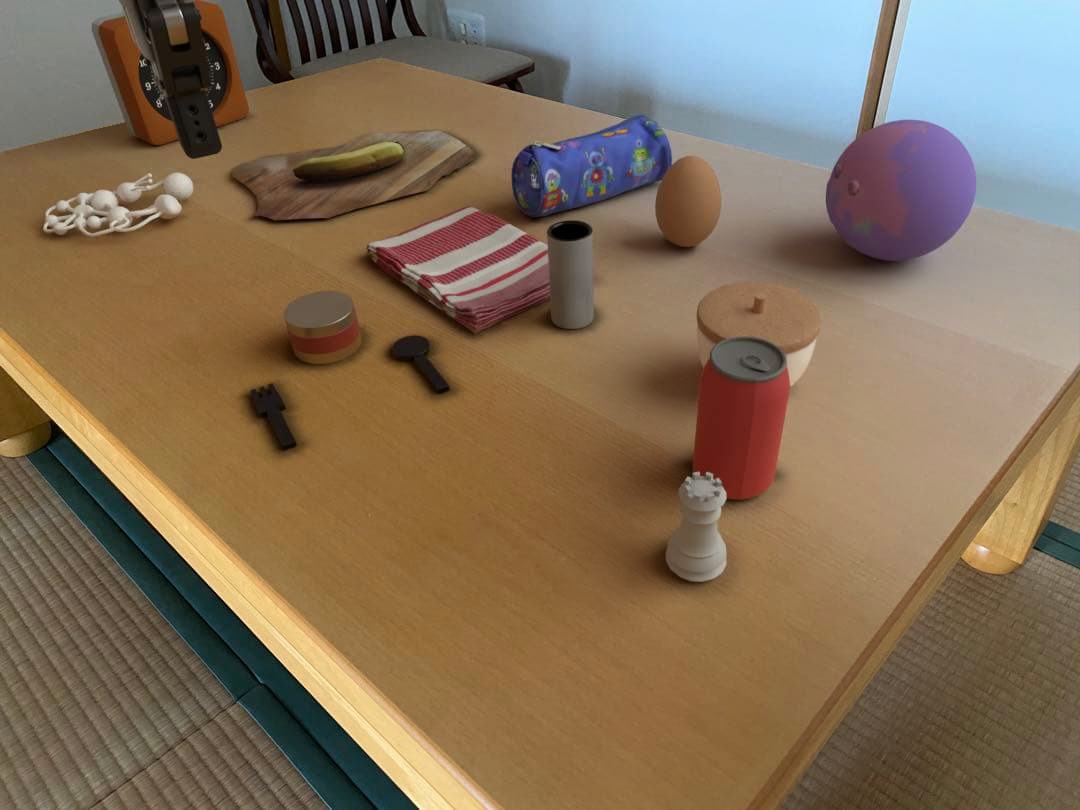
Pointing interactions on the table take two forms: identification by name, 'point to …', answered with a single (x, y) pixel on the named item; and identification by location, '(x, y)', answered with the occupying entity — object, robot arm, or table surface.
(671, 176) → the egg
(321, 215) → the cutting board
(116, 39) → the alarm clock
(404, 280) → the dish towel
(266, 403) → the fork
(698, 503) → the rook chess piece
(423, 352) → the spoon
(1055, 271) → the table surface
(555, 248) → the grey hollow cylinder
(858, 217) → the decorative ball
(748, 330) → the trinket box
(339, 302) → the tin can
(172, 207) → the tangled rod sculpture
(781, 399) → the beer can
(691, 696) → the table surface
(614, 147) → the pencil case
